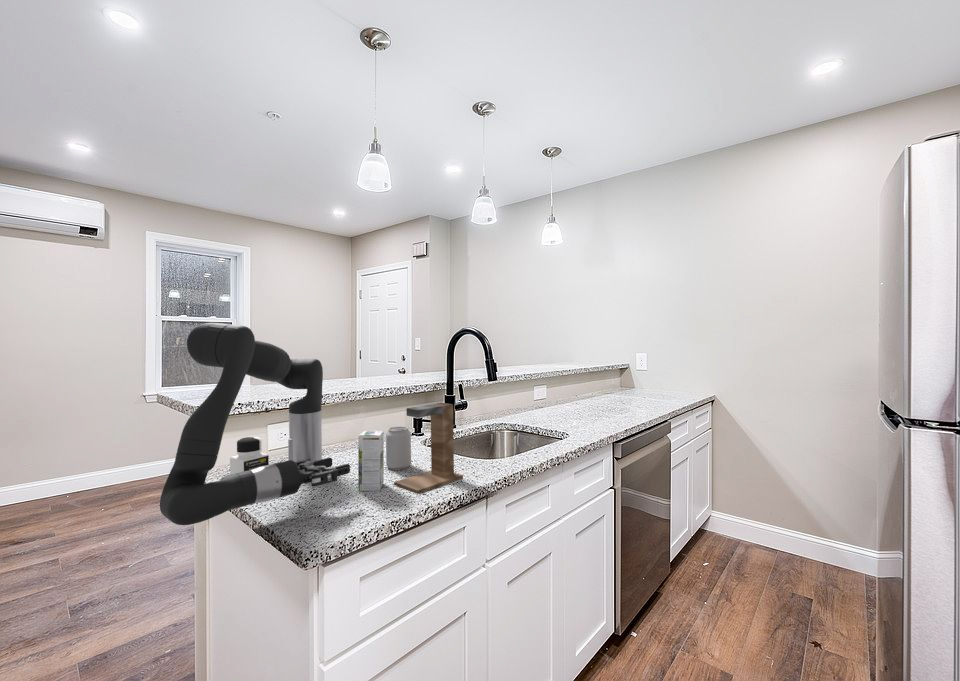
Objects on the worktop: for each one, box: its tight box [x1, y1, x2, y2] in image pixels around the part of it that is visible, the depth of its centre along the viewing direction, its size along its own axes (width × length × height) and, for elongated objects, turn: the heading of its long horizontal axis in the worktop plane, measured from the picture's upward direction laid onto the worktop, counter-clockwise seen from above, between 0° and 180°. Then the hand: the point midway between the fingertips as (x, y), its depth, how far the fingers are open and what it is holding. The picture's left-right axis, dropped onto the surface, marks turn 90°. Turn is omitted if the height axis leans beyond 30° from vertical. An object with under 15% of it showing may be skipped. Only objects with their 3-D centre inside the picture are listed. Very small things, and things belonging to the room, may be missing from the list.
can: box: [385, 425, 412, 471], centre depth 132 cm, size 8×8×12 cm
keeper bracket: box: [393, 402, 464, 494], centre depth 118 cm, size 16×10×20 cm, turn 138°
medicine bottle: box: [229, 436, 270, 475], centre depth 120 cm, size 7×7×12 cm
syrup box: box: [357, 430, 385, 492], centre depth 114 cm, size 6×6×14 cm
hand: (340, 464), depth 107 cm, fingers open, 8 cm apart
